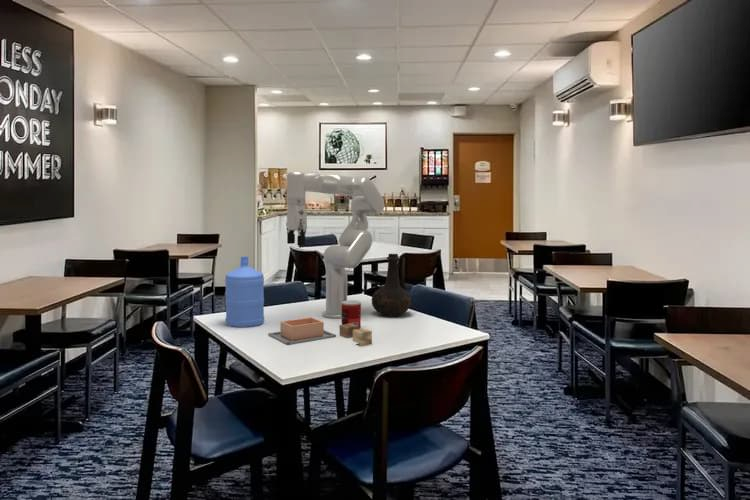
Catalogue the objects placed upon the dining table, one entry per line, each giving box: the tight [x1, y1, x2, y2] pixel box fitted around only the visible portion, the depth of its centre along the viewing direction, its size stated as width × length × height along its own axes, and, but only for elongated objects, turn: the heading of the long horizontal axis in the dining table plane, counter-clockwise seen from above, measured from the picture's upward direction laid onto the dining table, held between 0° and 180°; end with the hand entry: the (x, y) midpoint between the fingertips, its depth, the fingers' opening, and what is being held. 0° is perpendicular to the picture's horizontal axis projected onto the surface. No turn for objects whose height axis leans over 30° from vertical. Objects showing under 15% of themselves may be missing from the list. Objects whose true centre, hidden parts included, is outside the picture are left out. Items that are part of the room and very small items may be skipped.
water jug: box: [224, 256, 265, 328], centre depth 222 cm, size 16×16×28 cm
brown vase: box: [371, 253, 412, 317], centre depth 242 cm, size 18×18×28 cm
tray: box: [267, 329, 337, 346], centre depth 200 cm, size 20×16×2 cm
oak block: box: [352, 327, 373, 347], centre depth 194 cm, size 5×5×5 cm
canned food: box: [341, 299, 362, 329], centre depth 216 cm, size 8×8×11 cm
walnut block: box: [339, 323, 358, 339], centre depth 201 cm, size 5×5×5 cm
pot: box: [279, 317, 325, 341], centre depth 200 cm, size 13×9×6 cm
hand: (296, 244), depth 219 cm, fingers open, 9 cm apart
